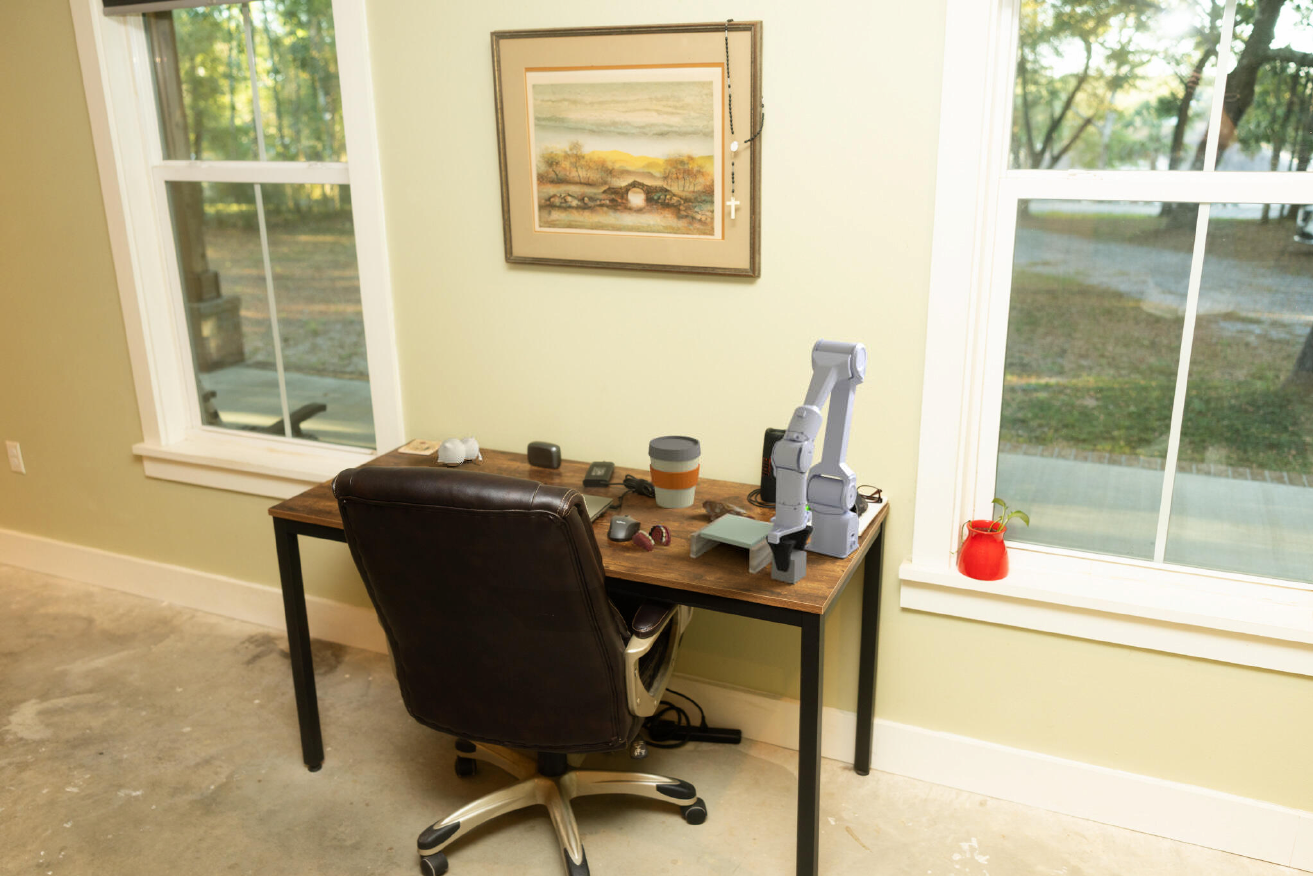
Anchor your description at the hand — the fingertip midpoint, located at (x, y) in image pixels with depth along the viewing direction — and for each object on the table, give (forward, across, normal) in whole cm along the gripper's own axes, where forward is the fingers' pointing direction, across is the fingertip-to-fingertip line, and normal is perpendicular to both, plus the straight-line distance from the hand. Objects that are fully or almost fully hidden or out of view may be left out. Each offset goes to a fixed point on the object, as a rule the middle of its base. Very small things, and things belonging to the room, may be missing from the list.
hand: (788, 565), depth 189 cm
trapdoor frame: (+2, -5, -14) cm, 15 cm away
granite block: (+2, 0, 0) cm, 2 cm away
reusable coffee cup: (+3, -24, -43) cm, 49 cm away
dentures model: (+3, +1, -32) cm, 32 cm away
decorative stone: (+3, -20, -24) cm, 32 cm away
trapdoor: (-2, -5, -14) cm, 15 cm away
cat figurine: (+3, -17, -108) cm, 110 cm away
